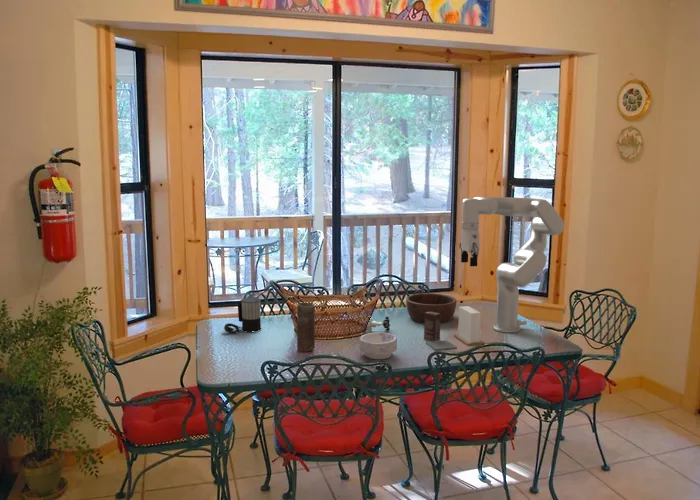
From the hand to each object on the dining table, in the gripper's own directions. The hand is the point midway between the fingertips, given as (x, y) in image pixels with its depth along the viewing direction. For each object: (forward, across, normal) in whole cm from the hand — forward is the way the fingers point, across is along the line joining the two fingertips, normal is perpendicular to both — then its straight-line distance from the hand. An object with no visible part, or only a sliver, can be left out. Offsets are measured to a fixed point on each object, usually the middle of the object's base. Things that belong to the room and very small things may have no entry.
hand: (468, 264), depth 269 cm
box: (+33, -2, +18) cm, 38 cm away
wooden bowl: (+33, +30, +6) cm, 45 cm away
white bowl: (+33, -19, +47) cm, 61 cm away
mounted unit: (+33, -8, +2) cm, 34 cm away
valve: (+33, +16, +39) cm, 53 cm away
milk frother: (+33, +29, +99) cm, 108 cm away
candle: (+33, -5, +75) cm, 82 cm away
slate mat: (+33, -12, +17) cm, 39 cm away
